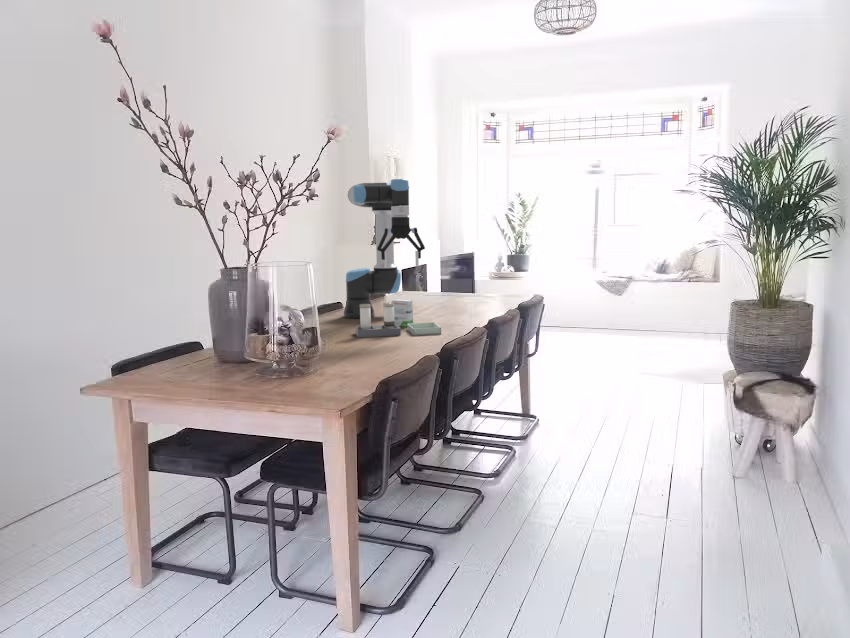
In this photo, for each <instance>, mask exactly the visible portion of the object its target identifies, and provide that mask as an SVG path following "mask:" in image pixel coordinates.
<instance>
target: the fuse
mask: <svg viewBox="0 0 850 638" xmlns="http://www.w3.org/2000/svg"><path fill="white" fill-rule="evenodd" d="M371 304H372V303H371ZM371 304H360V318H359V320H360V321H359V322H360V323H359V324H360V325H359V326H361V329H371V326H372V317H371V309H370V307H371Z"/></svg>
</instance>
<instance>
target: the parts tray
mask: <svg viewBox="0 0 850 638" xmlns="http://www.w3.org/2000/svg"><path fill="white" fill-rule="evenodd" d="M406 329H407V331H408V332H409V333H410V334H411V335H412V336H428V335H442V327H441V326H440V325H438V324H437V323H436V322H435V321H434V322H432V321H431V322H415V323H414V322H413V323H408V324H407V327H406Z"/></svg>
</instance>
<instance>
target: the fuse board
mask: <svg viewBox="0 0 850 638" xmlns="http://www.w3.org/2000/svg"><path fill="white" fill-rule="evenodd" d="M354 332H355V335H356V337H357V338H374V337H375V338H377V337H378V338H379V337H393V336H394V337H396V336H397V337H398V336H401V332H402V331H401V326H398V325H397V324H395V326H394V328H384V324H380V325H379V324H378V325H376V324H375V325H371V329H361V325H358V326H354Z"/></svg>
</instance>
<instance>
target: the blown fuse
mask: <svg viewBox="0 0 850 638" xmlns="http://www.w3.org/2000/svg"><path fill="white" fill-rule="evenodd" d="M382 304H383V325H384V328H394V326H395V324H394V303H392V302H383V303H382Z"/></svg>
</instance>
